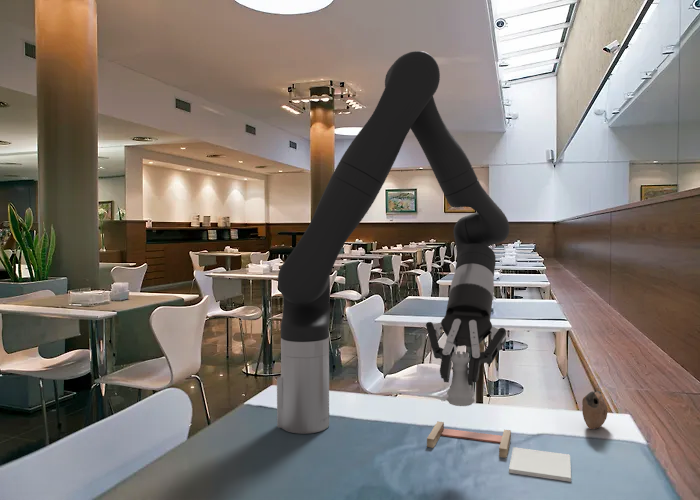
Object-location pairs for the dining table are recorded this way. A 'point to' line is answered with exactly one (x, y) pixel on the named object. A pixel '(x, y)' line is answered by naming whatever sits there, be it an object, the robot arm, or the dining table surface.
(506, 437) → the wooden u-shaped frame
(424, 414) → the dining table surface
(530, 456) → the tile
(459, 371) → the rook chess piece
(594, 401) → the oil lamp
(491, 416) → the dining table surface
